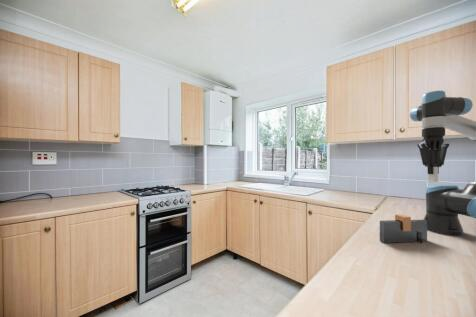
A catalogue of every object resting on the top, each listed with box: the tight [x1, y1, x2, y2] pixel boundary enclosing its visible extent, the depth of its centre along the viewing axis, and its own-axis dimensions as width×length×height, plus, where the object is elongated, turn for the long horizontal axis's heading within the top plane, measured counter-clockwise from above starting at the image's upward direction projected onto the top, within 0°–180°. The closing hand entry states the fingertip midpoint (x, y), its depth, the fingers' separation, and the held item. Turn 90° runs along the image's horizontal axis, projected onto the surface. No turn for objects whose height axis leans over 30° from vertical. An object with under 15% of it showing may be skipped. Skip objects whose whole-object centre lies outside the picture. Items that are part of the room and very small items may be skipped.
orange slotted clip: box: [394, 213, 412, 231], centre depth 92 cm, size 3×4×6 cm
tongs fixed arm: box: [379, 219, 428, 244], centre depth 92 cm, size 22×3×9 cm, turn 95°
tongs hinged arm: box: [381, 220, 418, 244], centre depth 91 cm, size 15×1×9 cm, turn 94°
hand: (433, 181), depth 91 cm, fingers closed
